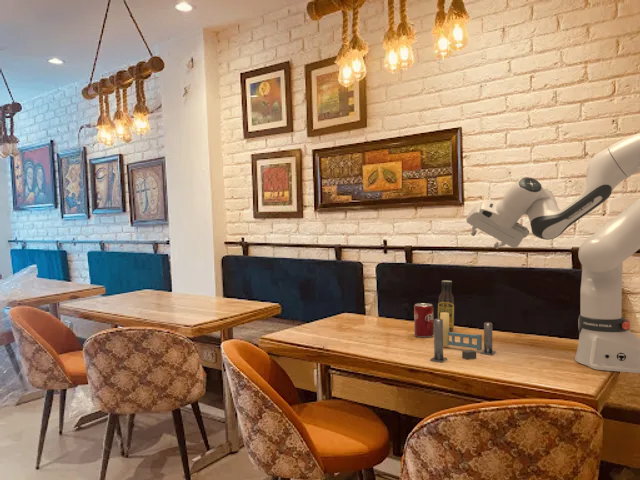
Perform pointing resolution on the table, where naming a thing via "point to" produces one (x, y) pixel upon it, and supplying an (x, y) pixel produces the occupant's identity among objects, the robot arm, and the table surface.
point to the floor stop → (469, 354)
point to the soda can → (424, 320)
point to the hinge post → (488, 340)
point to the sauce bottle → (447, 302)
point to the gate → (446, 335)
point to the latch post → (438, 341)
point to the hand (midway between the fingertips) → (484, 240)
